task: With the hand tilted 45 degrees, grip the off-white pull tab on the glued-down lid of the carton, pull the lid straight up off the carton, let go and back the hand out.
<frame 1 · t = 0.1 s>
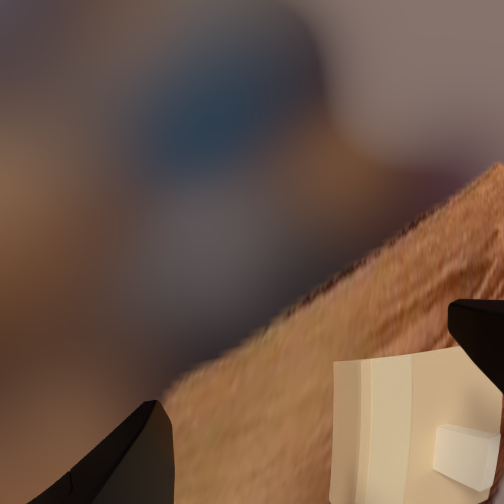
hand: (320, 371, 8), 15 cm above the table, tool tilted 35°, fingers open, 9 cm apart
carton lid: (460, 453, 10), point 10 cm above the table, slide at 0.0 cm
carton: (392, 427, 19), on the table
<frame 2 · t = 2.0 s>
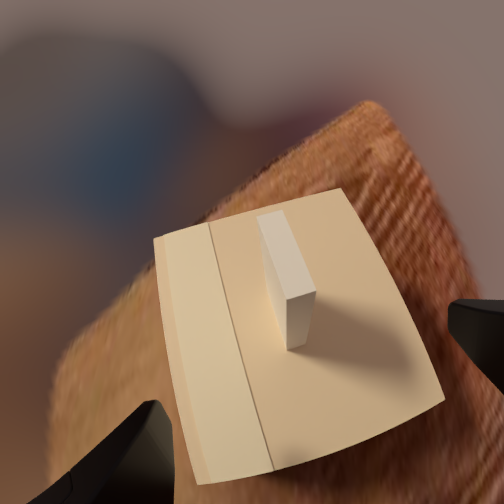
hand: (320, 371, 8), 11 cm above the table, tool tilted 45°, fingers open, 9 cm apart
carton lid: (285, 294, 11), point 10 cm above the table, slide at 0.0 cm
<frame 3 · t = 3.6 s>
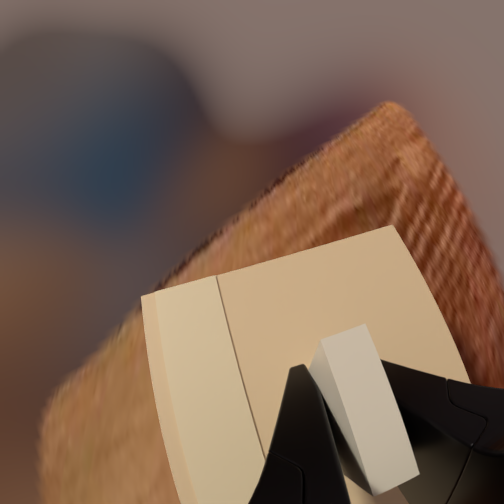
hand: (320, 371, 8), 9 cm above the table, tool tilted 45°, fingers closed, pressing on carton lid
carton lid: (341, 417, 6), point 10 cm above the table, slide at 0.0 cm, touching gripper
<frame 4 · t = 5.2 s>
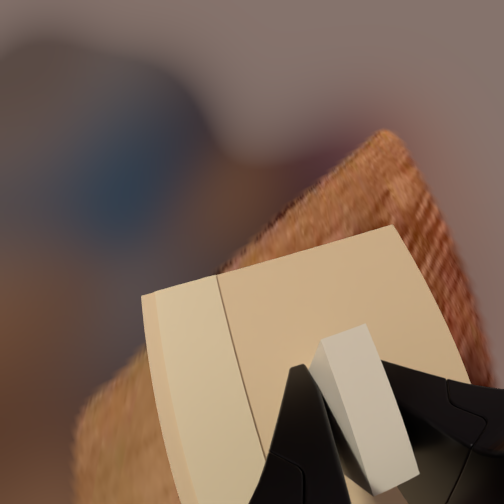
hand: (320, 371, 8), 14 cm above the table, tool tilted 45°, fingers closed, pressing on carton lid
carton lid: (341, 416, 6), point 14 cm above the table, slide at 4.4 cm, touching gripper
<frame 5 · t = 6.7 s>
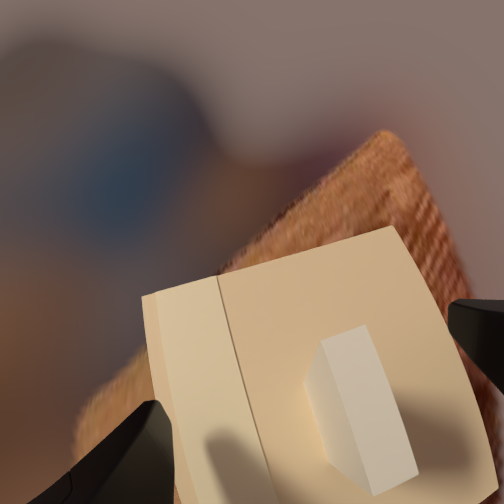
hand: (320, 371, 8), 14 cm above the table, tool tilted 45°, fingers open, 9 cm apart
carton lid: (341, 417, 6), point 14 cm above the table, slide at 4.4 cm
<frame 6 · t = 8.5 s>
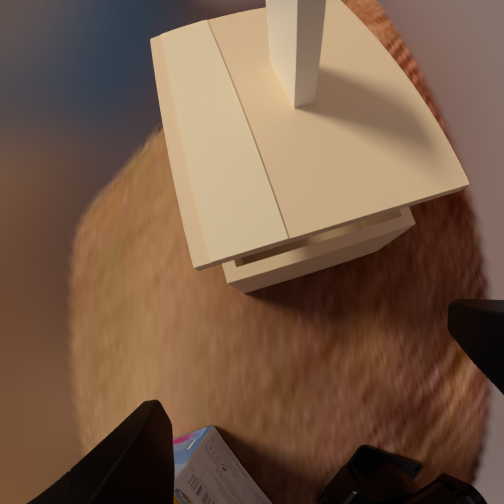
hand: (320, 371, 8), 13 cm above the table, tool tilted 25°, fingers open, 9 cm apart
ink cartridge box: (217, 479, 18), on the table
carton lid: (291, 40, 8), point 14 cm above the table, slide at 4.4 cm
carton: (286, 195, 22), on the table
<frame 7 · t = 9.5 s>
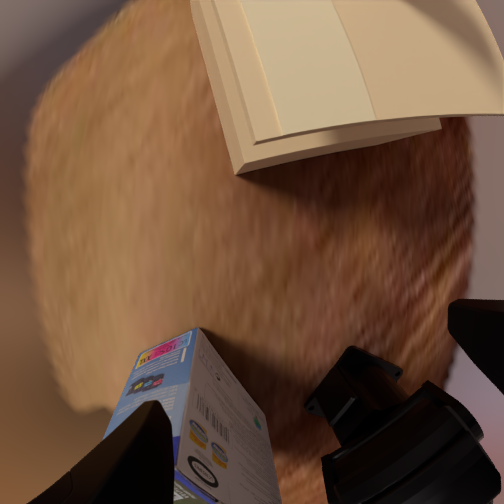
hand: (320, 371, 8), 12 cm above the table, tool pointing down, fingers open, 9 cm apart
ink cartridge box: (202, 387, 21), on the table
carton: (286, 72, 17), on the table
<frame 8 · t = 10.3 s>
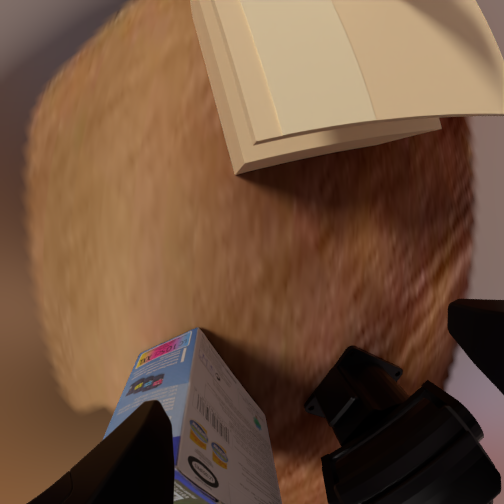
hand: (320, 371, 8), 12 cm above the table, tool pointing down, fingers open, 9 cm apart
ink cartridge box: (202, 387, 21), on the table
carton: (286, 72, 17), on the table
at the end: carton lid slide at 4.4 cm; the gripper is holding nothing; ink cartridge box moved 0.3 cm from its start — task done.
